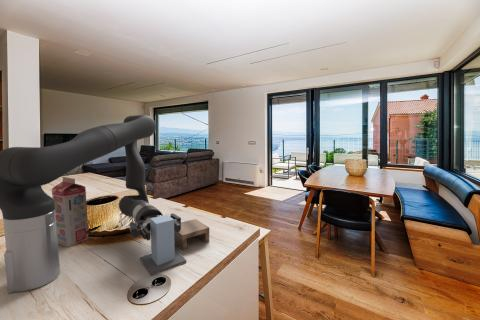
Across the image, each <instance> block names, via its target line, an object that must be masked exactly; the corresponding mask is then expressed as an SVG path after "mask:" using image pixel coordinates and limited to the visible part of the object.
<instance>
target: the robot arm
mask: <svg viewBox="0 0 480 320" xmlns="http://www.w3.org/2000/svg"><path fill="white" fill-rule="evenodd" d="M156 124H157V123H156V121H155V120H154V118H152V116H149V115H147V114H134V115H129V116H126V117H125V118H124V119H123V122H119V123H118V122H117V123H110V124H109V123H108V124H103V125H97V126H95V127H91V128H88V129H85V130H83V131H81V132H80V133H78V134H77V135H76V136H75V137H73V139H71V140H68V141H65V142H63V143H58V144H53V145H47V146H41V147H34V146H33V147H31V146H29V147H27V146H13V147H7V148H5V149H2V150H0V211H1V214H2V221H3V222H2V223H3V233H4V240H5V241H4V243H5V252H4V255H3V256H4V266H5V267H4V269H5V275H6V276H5V278H6V285H7V294H11V293H14V292H15V293H16V292H26V291H30V290H31V291H32V290H34V289H37V288H38V289H39V288H41V287H43V286H45V285H47V284H49V283H51V282H53V281H54V280H55V279H56V278H58V276H59V275H60V274H61V268H60V266H61V264H60V255H59V253H60V252H59V244H58V239H57V226H56V213H55V202H54V199H53V198H52V196H50V195H49V194H47V193H46V192H45V191H44V190H43V188H42V186H46V185H48V184H50V183H52V182H54V181H55V180H57V179H59V178H61V177H64V175H66V174H68V173H70V172H71V171H73V170H74V169H77V168H78V167H80V166H82V165H86V164H87V163H90V162H92V161H94V160H97V159H99V158H101V157H104V156H107V155H109V154H111V153H113V152H115V151H117V150H119V149H122V148H124V152H125V158H126V159H125V160H126V161H125V164H126V167H125V168H126V171H125V188H126V189H128V190H133V191H136V192H137V193H138V194H135V195H131V194H130V195H124V196H123V197H121V198H120V200H119V202H118V208H119V209H118V210H119V211H120V212H121V214H122V215H124V216H126V217H129V218H132V219H133V222H132V221H131V222H129V232H130V234H131V236H132V238H138V237H139V236H140V237H142V238H143V240H146V241H151V225H150V218H154V217H159V216H164V214H163V213H162V211H161V210H159V209H158V208H157V207H155V206H154V205H153V204H151V203H149V198H148V193H147V189H146V165H145V162H144V160H143V158H142V156H141V154H140V152H139V148H138V141H139V140H142V139H146V138H149V137H151V136H153V135H154V134H155V131H156V127H157V125H156ZM169 216H170V217H171V218H172V219H174V230H175V231H176V232H180V230H181V222H182V217H181V216H178V215H177V214H175V213H174V212H173V213H170V215H169Z"/></svg>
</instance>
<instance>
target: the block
mask: <svg viewBox="0 0 480 320" xmlns="http://www.w3.org/2000/svg"><path fill="white" fill-rule="evenodd" d="M150 225H151V231H150V252H151V253H150V254H151V258H152V259H153V260H154V262H155V263H156V264H157V265H160V264H163V263H166V262H168V261H171V260H174V259H175V249H176V248H175V243H174V219H172V218H171V217H170V215H168V214H165V215H164V214H163V216H159V217H154V218H150Z"/></svg>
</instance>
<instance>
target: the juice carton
mask: <svg viewBox="0 0 480 320" xmlns="http://www.w3.org/2000/svg"><path fill="white" fill-rule="evenodd" d="M86 191H87V190H86V186H84V185H82V184H78V183H76V179H75V178H72V177H65V176H62V182H60V183H58V184H56V185H55V186H53V187H52V188H51V195H52V196H51V197H52V198H53V199H54V202H55V213H56V226H57V239H58V245H60V246H63V247H66V248H69V247H71V246H74V245H76V244H79V243H82V242H84V241H86V240H89V233H88V234H86V233H85V231H88V232H89V230H88V221H87V213H88V209H87V207H88V206H87V192H86Z"/></svg>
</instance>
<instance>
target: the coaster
mask: <svg viewBox="0 0 480 320" xmlns="http://www.w3.org/2000/svg"><path fill="white" fill-rule="evenodd" d="M139 259H140V261H141V263H142V264H143V265H144V267H145V270H147V272H148V273H149V274H150V276H154V275H157V274H158V273H162V272H164V271H166V270H169V269H172V268H175V267H177V266H180V265H182V264H185V263H187V259H186V258H185V257H184V256H183V255H182V254H181V253H180V252H179V251H177V249H176V248H175V259H174V260H171V261H168V262H166V263H163V264H160V265H157V264H156V263H155V262H154V260H153V259H152V258H151V253H149V254H145V255H142V256H140V257H139Z"/></svg>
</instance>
